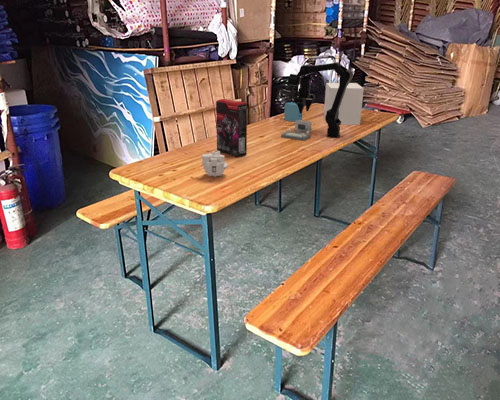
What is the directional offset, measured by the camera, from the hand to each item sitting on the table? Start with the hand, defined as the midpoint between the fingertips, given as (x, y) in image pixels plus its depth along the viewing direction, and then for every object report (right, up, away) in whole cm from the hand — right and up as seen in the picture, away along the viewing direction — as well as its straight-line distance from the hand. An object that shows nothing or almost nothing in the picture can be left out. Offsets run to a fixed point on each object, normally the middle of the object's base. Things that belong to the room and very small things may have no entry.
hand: (304, 112), depth 271 cm
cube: (+30, +1, +36) cm, 48 cm away
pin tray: (-6, -16, -7) cm, 19 cm away
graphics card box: (-43, -29, -38) cm, 65 cm away
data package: (-3, +1, +35) cm, 35 cm away
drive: (0, -12, +5) cm, 13 cm away
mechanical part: (-49, -43, -71) cm, 97 cm away
